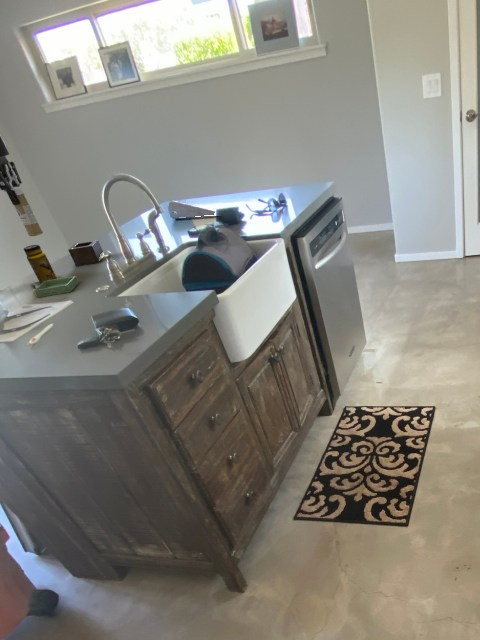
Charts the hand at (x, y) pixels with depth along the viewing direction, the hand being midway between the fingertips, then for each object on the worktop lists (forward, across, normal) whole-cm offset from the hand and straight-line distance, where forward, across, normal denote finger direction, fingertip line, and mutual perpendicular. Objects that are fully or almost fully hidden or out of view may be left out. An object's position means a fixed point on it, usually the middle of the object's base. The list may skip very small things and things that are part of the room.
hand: (20, 202), depth 164 cm
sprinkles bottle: (+10, 0, 0) cm, 10 cm away
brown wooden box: (+26, -30, +2) cm, 40 cm away
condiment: (+26, -8, -8) cm, 29 cm away
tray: (+26, +4, 0) cm, 26 cm away
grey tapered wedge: (+26, -81, +40) cm, 94 cm away
